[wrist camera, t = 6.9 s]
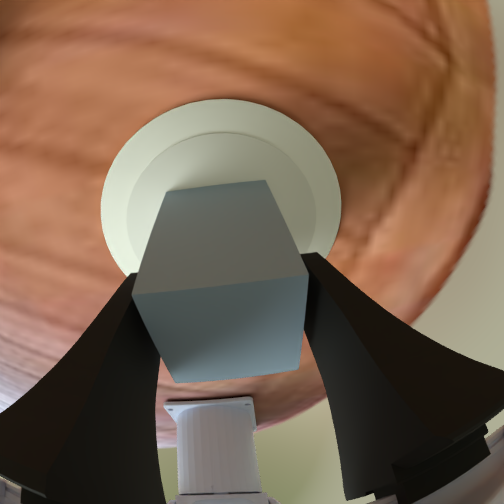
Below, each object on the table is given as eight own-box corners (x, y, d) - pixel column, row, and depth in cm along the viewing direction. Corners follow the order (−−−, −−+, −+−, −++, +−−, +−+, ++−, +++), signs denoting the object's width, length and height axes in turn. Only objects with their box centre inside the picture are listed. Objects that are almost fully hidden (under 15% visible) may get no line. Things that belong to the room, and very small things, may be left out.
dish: (322, 289, 17) (329, 303, 16) (142, 309, 16) (138, 324, 15) (339, 95, 10) (351, 98, 9) (84, 124, 10) (72, 129, 9)
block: (268, 260, 13) (298, 369, 8) (184, 270, 13) (175, 383, 8) (265, 179, 11) (308, 274, 6) (166, 191, 11) (131, 294, 6)
